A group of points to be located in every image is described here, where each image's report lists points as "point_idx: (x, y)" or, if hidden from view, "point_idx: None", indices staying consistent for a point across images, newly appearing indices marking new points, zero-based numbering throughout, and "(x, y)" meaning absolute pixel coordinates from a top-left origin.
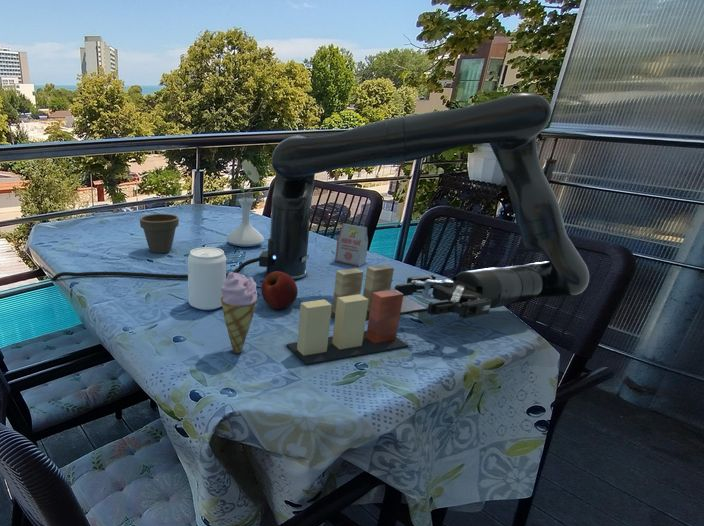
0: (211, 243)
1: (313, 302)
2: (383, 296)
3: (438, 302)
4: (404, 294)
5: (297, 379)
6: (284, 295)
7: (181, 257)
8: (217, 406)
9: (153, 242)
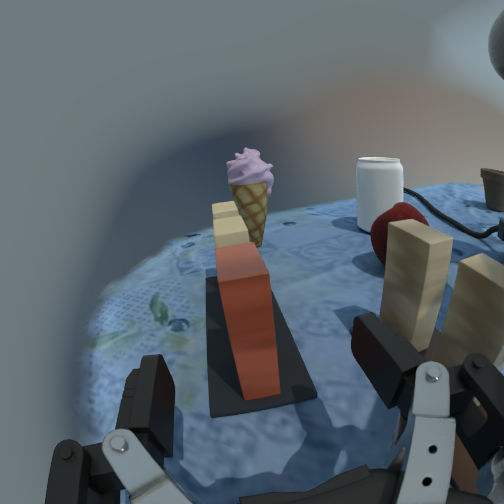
0: None
1: (228, 205)
2: (218, 250)
3: (141, 375)
4: (368, 372)
5: (182, 273)
6: (374, 238)
7: (493, 216)
8: (173, 242)
9: (485, 193)
